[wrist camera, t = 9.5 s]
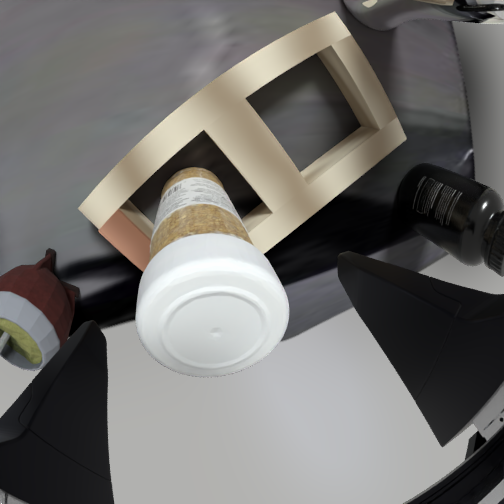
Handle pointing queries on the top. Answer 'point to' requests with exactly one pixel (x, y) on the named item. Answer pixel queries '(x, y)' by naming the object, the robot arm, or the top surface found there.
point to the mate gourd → (34, 313)
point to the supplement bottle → (455, 214)
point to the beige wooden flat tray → (257, 142)
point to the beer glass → (424, 11)
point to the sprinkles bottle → (207, 284)
